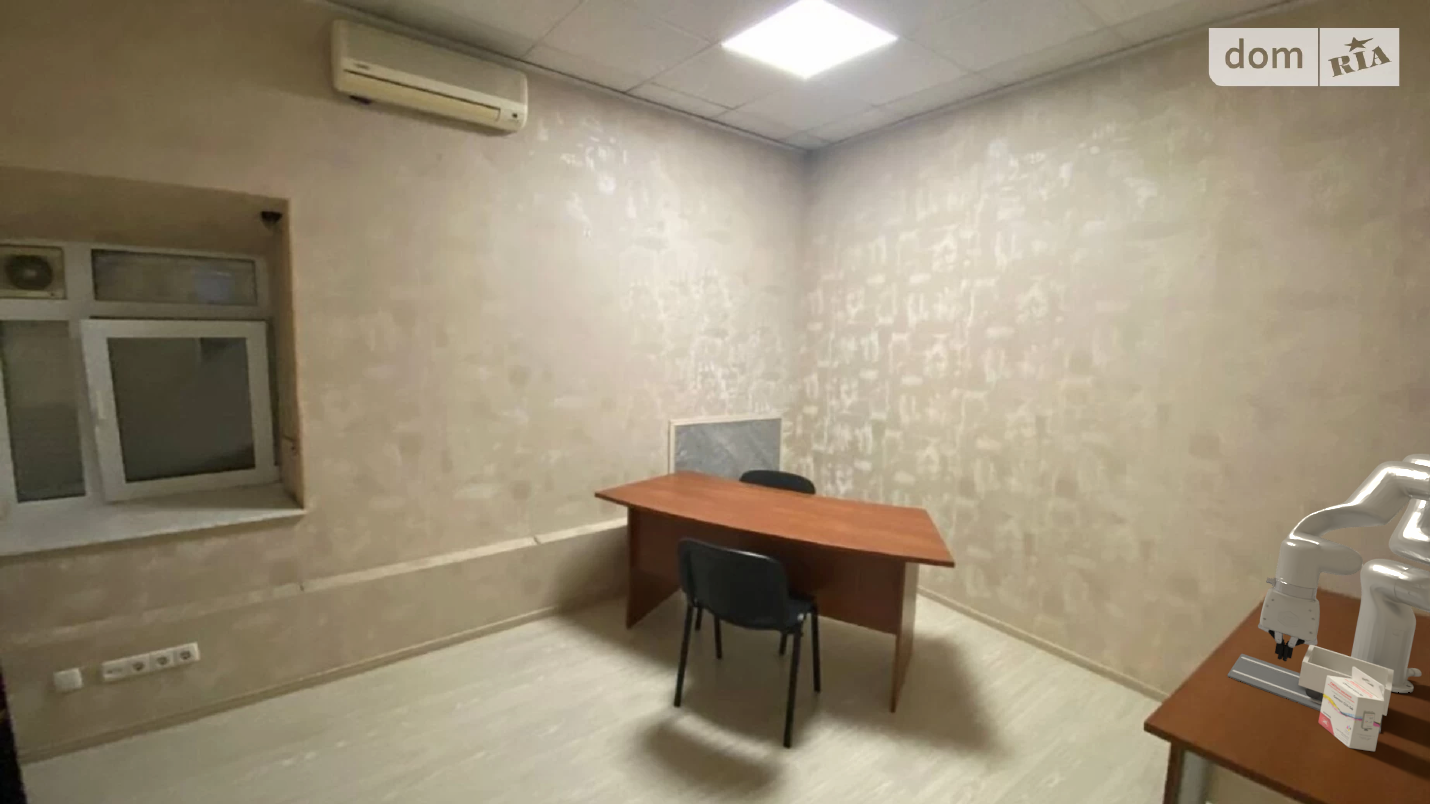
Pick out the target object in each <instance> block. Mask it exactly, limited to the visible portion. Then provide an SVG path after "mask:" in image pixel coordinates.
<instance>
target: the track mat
mask: <svg viewBox="0 0 1430 804" xmlns="http://www.w3.org/2000/svg"><path fill="white" fill-rule="evenodd" d="M1227 676H1228V677H1227ZM1226 677H1227V678H1229V677H1230V678H1229V679H1231V678H1233V679H1232V680H1234V679H1235V680H1234V681H1238V682H1240V681H1241V682H1240V683H1242V682H1243V684H1245V683H1246V685H1248V686H1250V685H1251V686H1252V687H1253V688H1256V689H1259V690H1262V691H1265V692H1266V693H1267V692H1268V693H1269V692H1270V693H1269V694H1272V695H1276V696H1278V697H1280V698H1283V699H1286V698H1287V700H1288V699H1289V700H1288V701H1291V702H1294V703H1296V702H1298V703H1297V704H1299V705H1303V706H1305V707H1307V708H1311V709H1313V710H1316V711H1319V712H1320V710H1321V705H1322V700H1323V693H1320V697H1319V698H1317V699H1313V698H1310V697H1309V696H1308V695H1307V694H1306V689H1307V688H1306V687H1303V686H1300V685H1298V684H1299V678H1300V672H1297V671H1294V670H1291V669H1288V668H1285V667H1282V666H1279V665H1277V664H1274V663H1270V662H1268V661H1266V660H1262V659H1260V658H1256V657H1253V656H1249V655H1247V654H1244V653H1241V654H1240V655H1239V657H1238V659H1236V661H1235V663H1234V664H1233V666H1232V667H1231V669H1230V670H1229V672H1228V674H1227V675H1226ZM1383 716H1384V715H1382V718H1381V723H1380V728H1379V733H1378V734H1381V732H1382V731H1381V730H1382V725H1383V723H1382V722H1383Z"/></svg>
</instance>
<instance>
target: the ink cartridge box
mask: <svg viewBox="0 0 1430 804" xmlns="http://www.w3.org/2000/svg"><path fill="white" fill-rule="evenodd" d="M1362 678H1364V679H1368V680H1369V682H1370V683H1372V684H1373V685H1374V687H1372V686H1371V685H1369V684H1368V683H1366V682H1365V681H1363V679H1362ZM1384 696H1385V687H1384V686H1383V685H1382V684H1380V683H1379V682H1377V681H1376V680H1374V679H1373V678H1371V677H1370V676H1368V675H1367V674H1365V673H1364V672H1362V671H1360V670H1359V669H1357V668H1356V667H1352V679H1350V678H1343V677H1336V676H1328V675H1327V678H1326V684H1325V689H1324V694H1323V700H1322V705H1321V710H1320V711H1319V716H1318V724H1319V725H1320V726H1322V727H1323V728H1324V729H1325V730H1326V731H1328V732H1329V733H1330V734H1331V735H1332V736H1334V737H1335V738H1336V739H1338V740H1339V741H1340V742H1342V744H1344V745H1345V746H1346V747H1347V748H1350V749H1355V750H1363V751H1370V752H1376V748H1377V743H1378V738H1379V734H1380V733H1379V728H1380V723H1381V718H1382V719H1383V717H1382V713H1383V708H1384V703H1385V701H1384Z"/></svg>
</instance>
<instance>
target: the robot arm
mask: <svg viewBox="0 0 1430 804" xmlns="http://www.w3.org/2000/svg"><path fill="white" fill-rule="evenodd" d="M1407 504H1408V505H1407ZM1406 505H1407V507H1406V510H1405V511H1404V513H1403V514H1402V516H1401V517H1400V519H1399V522H1398V523H1397V525H1396V527H1395V529H1394V530H1393V531H1392V533H1391V535H1390V538H1389V540H1388V548H1389V550H1390V551H1391V552H1392V553H1393V554H1394V555H1396V556H1398V557H1400V558H1402V559H1406V560H1408V561H1412V562H1415V563H1418V564H1421V565H1424V566H1428V567H1430V453H1412V454H1409V455H1406V456H1405V457H1404V458H1403V459H1402V460H1401V461H1400V460H1387V461H1383V462H1382V463H1380V464H1377V466H1376V467H1375V468H1374V469H1373V470H1372V471H1371V472H1370V474H1369V475H1368V476H1367V477H1366V478H1365V479H1364V480H1363V481H1362V482H1361V483H1360V484H1359V486H1358V487H1357V488H1356V489H1355V490H1354V491H1353V492H1352V493H1351V495H1349V497H1348V498H1347V499H1346V500H1345V501H1343V502H1341V503H1339V504H1334V505H1332V506H1328V507H1324V508H1323V509H1319V510H1317V511H1315V512H1312V513H1310V514H1308V515H1306V516H1304V517H1303V518H1302V519H1301V520H1300V521H1298V522H1297V523H1296V524H1295V526H1294V527H1293V528H1292V529H1291V530H1290V532H1288V533H1287V536H1286V537H1285V539H1283V540H1282V541H1281V542H1280V547H1279V553H1278V559H1277V565H1276V571H1275V577H1273V578H1272V577H1271V578H1270V577H1267V578H1266V583H1267V584H1270V585H1271V586H1272V587H1270V588H1268V590H1267V592H1266V594H1265V597H1264V601H1263V602H1262V603H1263V605H1262V607H1261V608H1262V609H1261V612H1260V618H1259V623H1258V625H1257V628H1258V629H1260V630H1262V631H1264V632H1265V633H1268V634H1269V635H1270V636H1271V637H1272V638H1273V640H1274V641H1275V643H1276V644H1275V648H1274V649H1275V651H1274V654H1275V655H1277V660H1282V661H1283V662H1287V660H1288V659H1290V660H1291V659H1292V657H1293V651H1294V648H1295V647H1298V646H1301V645H1303V644H1305V645H1308V646H1309V645H1314V646H1317V645H1318V638H1317V635H1318V631H1319V626H1320V618H1321V617H1320V615H1321V613H1320V601H1319V600H1318V599H1317V593H1318V588H1319V587H1318V586H1319V581H1320V576H1321V574H1322V573H1323V574H1330V575H1335V576H1350V575H1351V576H1352V575H1354V574H1356V573H1358V572H1359V571H1360V575H1359V577H1360V578H1359V579H1360V588H1361V598H1360V606H1359V613H1358V617H1357V622H1356V628H1355V633H1354V638H1353V645H1352V649H1351V655H1350V657H1353V658H1356V659H1359V660H1363V661H1366V662H1369V663H1372V664H1376V665H1379V666H1382V667H1385V668H1388V669H1392V670H1394V672H1393V681H1392V689H1391V693H1398V692H1399V694H1409V693H1408V692H1410V693H1413V691H1414V685H1413V683H1411V682H1410V680H1408V679H1409V678H1411V677H1421V676H1422V671H1421V670H1420V669H1419V668H1417V667H1416V668H1415V667H1414V668H1413V667H1408V665H1409V662H1410V656H1411V652H1412V646H1413V642H1414V635H1415V632H1416V631H1415V630H1416V625H1417V620H1416V615H1415V612H1414V610H1413V608H1415V609H1418V610H1421V611H1424V612H1427V613H1430V570H1426V569H1422V568H1420V567H1417V566H1414V565H1410V564H1408V563H1405V562H1404V563H1403V562H1400V561H1398V560H1393V559H1389V558H1374V559H1370V560H1368V561H1366V562H1365V563H1364V559H1363V557H1362V555H1361V554H1360V552H1359V551H1357V550H1356V549H1354V548H1353V547H1350V546H1348V545H1346V544H1343V543H1339V542H1335V541H1333V540H1329V539H1326V538H1322V537H1323V536H1324V535H1326V534H1328V533H1330V532H1333V531H1336V530H1341V529H1346V528H1347V529H1348V528H1349V529H1350V528H1370V527H1371V528H1372V527H1382V526H1387V525H1389V523H1391V522H1392V521H1393V519H1394V518H1395V517H1397V515H1398V514H1399V513H1400V512H1401V510H1402V509H1403V508H1405V506H1406ZM1284 635H1286V636H1289V637H1290V638H1289V640H1287V642H1285V639H1284Z"/></svg>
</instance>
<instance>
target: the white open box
mask: <svg viewBox="0 0 1430 804" xmlns="http://www.w3.org/2000/svg"><path fill="white" fill-rule="evenodd" d="M1352 667H1356V668H1357V669H1359V670H1360V671H1362V672H1364V673H1365V674H1367V675H1368V676H1370V677H1371V678H1373V679H1374V680H1376V681H1377V682H1379V683H1380V684H1382V685H1383V686H1384V687H1385V696H1384V701H1385V703H1384V708H1383V713H1382V715H1383V716H1386V717H1387V714H1388V708H1389V705H1390V704H1389V703H1390V699H1391V693H1392V691H1391V689H1392V681H1393V672H1394V670H1392V669H1388V668H1385V667H1382V666H1379V665H1376V664H1372V663H1369V662H1366V661H1363V660H1359V659H1356V658H1353V657H1351V655H1350V656H1348V655H1347V654H1343V653H1339V652H1336V651H1334V650H1331V649H1326V648H1323V647H1320V646H1317V645H1308V648H1307V650H1306V652H1305V655H1304V656H1303V659H1302V662H1301V669H1300V671H1299V673H1300V678H1299V684H1298V685H1300V686H1303V687H1306V688H1307V689H1306V694H1307V695H1308V696H1309V697H1310V698H1313V699H1317V698H1319V697H1320V693H1323V694H1324V689H1325V684H1326V678H1327V675H1328V676H1336V677H1343V678H1350V679H1352ZM1362 679H1363V681H1365V682H1366V683H1368V684H1369V685H1371V686H1372V687H1374V685H1373V684H1372V683H1370V682H1369V680H1368V679H1364V678H1362Z"/></svg>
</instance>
